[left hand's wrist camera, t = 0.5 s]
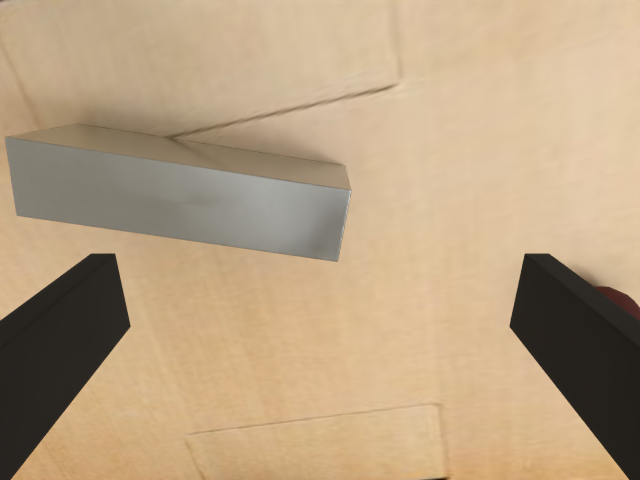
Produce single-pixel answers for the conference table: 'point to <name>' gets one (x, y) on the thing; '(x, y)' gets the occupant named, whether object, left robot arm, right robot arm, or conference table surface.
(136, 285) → the conference table surface
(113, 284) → the left robot arm
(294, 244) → the bar
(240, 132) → the conference table surface
